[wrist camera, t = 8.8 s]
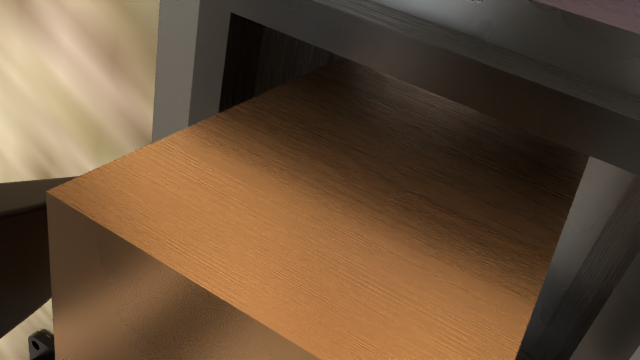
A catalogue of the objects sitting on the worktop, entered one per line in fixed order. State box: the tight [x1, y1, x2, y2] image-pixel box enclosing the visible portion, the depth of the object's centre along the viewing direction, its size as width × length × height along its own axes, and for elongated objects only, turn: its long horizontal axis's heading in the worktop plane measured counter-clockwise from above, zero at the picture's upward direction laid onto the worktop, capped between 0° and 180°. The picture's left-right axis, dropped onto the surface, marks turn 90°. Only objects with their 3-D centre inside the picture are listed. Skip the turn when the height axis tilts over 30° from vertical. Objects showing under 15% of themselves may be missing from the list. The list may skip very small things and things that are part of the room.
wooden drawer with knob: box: [46, 57, 590, 360], centre depth 9 cm, size 5×5×9 cm
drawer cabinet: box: [152, 0, 640, 360], centre depth 11 cm, size 11×9×5 cm
